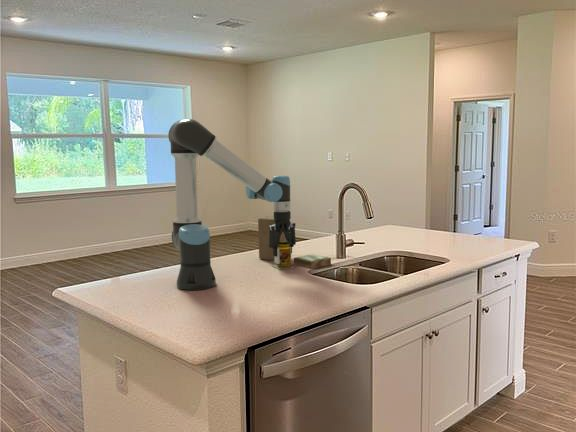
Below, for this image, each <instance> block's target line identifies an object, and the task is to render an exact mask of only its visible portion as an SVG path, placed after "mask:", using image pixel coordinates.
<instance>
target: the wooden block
mask: <svg viewBox="0 0 576 432" xmlns="http://www.w3.org/2000/svg"><path fill="white" fill-rule="evenodd" d="M257 222H258V223H257V228H258V234H257V235H258V259H260V260H266V261H274V256H273V248H270V247H269V235H270V230H269V226H272V225H274V222H275V221H274V215H267V216H262V217H259V218H258V220H257ZM275 230H276V228H275ZM281 240H286V238H285V235H284V232H282V234H281V236H280V241H281Z"/></svg>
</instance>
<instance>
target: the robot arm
mask: <svg viewBox="0 0 576 432" xmlns="http://www.w3.org/2000/svg"><path fill="white" fill-rule="evenodd" d="M167 136H168V141H169V143H170V155H171V156H173V158H174V173H175V174H174V175H175V209H176V211H175V213H176V217H175V218H174V219H173V221H172V232H171V242H172V244H173V246H174V248H175V249H177V250H178V251H179V260H180V262H179V263H180V268H179V271H178V274H177V278H176V288H177V289H179V288H180V290H183V289H185V290H184V291H199V290H201V289H202V290H207V289H210V288H212V287H216V284H217V282H216V281H217V280H216V279H217V278H216V275H215V273H214V270H213V267H212V264H211V240H210V239H211V233H210V229H209V228H208V227H207V226H206V225H205V224H203V223H202V218H200V217H199V214H198V213H199V211H198V209H199V208H198V177H197V176H198V175H197V174H198V170H197V166H198V165H197V158H198V157H199V156H200V157H206V158H207V159H208V160H209V161H211V162H213V163H214V164H215V165H217V166H218V167H220V168H221V169H222V170H224V171H225V172H226V173H228V174H230V176H232V177H233V178H235V179H236V180H238V181H239V182H241V184H243V185H245V193H246V197H247V199H249V200H257V199H259V200H263V201H265V202H266V201H267V202H269V203H273V205H272V206H273V207H272V208H273V209H272V210H273V216H274V221H275V222H274V225H272V226H269V230H270V235H269V247H270V248H273V256H274V264H280V256H279V249H278V245H279V241H280V236H281V234H282V232H284V235H285V240H288V241H289V242H290V248H291V254H293V247H294V246H295V245H296V244H297V240H296V222H291V217H292V215H291V211H290V210H291V180H290V179H291V178H290V176H289V175H274V176H273V177H272V180H270V179H269V178H267V177H266V176H265V175H264V174H262V172H261V173H260V172H259V171H258V170H257V169H255V168H254V167H253V166H252V165H251V164H249V163H248V162H246V161H244V159H242V158H241V157H240V156H238V155H237V154H236V153H234V152H233V151H232V150H230V149H229V148H228V147H226V146H225V144H224V145H223V144H222V143H221V142H219V140H217V136H216V135H215V134H213V133H212V132H211V131H210V130H209V129H208V128H206V127H205V126H204V125H203V124H202V123H200V122H198V121H197V120H195V119H193V118H186V119H184V118H183V119H180V120H177V121H175V122H174V123H172V125H171V126H170V128H169V130H168V133H167ZM275 228H276V230H275Z"/></svg>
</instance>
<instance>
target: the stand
mask: <svg viewBox="0 0 576 432" xmlns="http://www.w3.org/2000/svg"><path fill="white" fill-rule="evenodd" d="M331 264H332V258H331V257H328V256H323V255H321V254H320V255H318V254H315V253H312V254H311V253H310V254H306V255H302V256H301V255H300V256H297V257H293V266H294V265H295V266H299V267H302V268H306V269H310V270H313V269H317V268H321V267H326V266H330V265H331Z"/></svg>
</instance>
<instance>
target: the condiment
mask: <svg viewBox="0 0 576 432" xmlns="http://www.w3.org/2000/svg"><path fill="white" fill-rule="evenodd" d="M278 249H279V256H280V264H277V263H276V264H277V265H272V267H274V268H275V269H278V270H281V271H282V270H287V269H288V270H289V269H294V268H295V267H296V266H294V265H293V266H292V253H291V248H290V242H289V241H288V240H286V239H285V240H281V241H279V245H278Z"/></svg>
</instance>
